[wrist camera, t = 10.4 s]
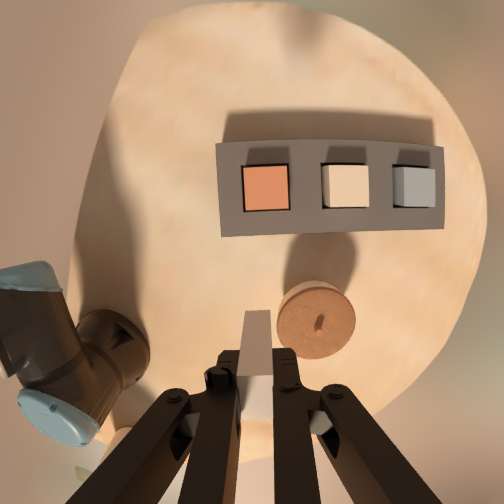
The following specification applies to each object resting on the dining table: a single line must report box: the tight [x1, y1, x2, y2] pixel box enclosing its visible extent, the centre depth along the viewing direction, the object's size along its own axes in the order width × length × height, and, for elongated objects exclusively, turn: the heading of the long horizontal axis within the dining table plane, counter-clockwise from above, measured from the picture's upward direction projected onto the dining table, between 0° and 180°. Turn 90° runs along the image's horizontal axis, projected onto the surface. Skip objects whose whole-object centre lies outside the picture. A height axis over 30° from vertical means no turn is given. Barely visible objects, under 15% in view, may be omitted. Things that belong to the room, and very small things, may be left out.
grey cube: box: [392, 167, 435, 207], centre depth 36 cm, size 5×5×5 cm
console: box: [215, 139, 445, 237], centre depth 39 cm, size 32×12×5 cm, turn 93°
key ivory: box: [321, 165, 369, 207], centre depth 36 cm, size 5×5×5 cm
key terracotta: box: [243, 166, 289, 210], centre depth 37 cm, size 5×5×5 cm
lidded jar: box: [277, 280, 356, 359], centre depth 41 cm, size 11×11×9 cm
